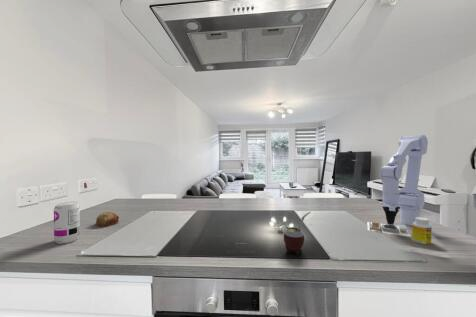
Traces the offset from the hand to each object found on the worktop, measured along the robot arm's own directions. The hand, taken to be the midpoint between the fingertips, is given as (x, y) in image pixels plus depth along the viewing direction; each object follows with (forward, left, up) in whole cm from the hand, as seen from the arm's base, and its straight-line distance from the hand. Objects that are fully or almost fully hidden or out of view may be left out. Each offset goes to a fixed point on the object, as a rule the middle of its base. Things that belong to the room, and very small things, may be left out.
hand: (390, 223), depth 93 cm
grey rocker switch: (-1, +4, -1) cm, 5 cm away
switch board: (-2, -1, -4) cm, 5 cm away
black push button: (0, 0, -2) cm, 3 cm away
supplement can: (+76, -114, -5) cm, 137 cm away
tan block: (+1, -6, -3) cm, 6 cm away
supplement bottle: (+9, +9, -5) cm, 13 cm away
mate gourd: (+39, -31, -5) cm, 50 cm away
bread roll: (+56, -122, -5) cm, 134 cm away
